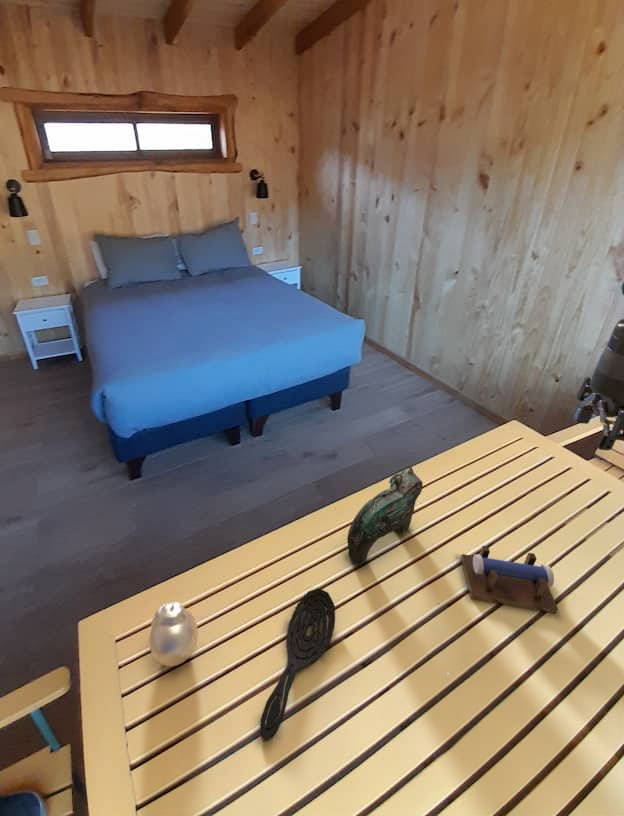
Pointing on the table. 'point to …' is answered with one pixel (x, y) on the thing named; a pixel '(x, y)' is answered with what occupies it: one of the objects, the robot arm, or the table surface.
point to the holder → (508, 586)
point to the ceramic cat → (384, 514)
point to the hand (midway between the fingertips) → (591, 435)
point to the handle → (513, 569)
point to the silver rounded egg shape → (173, 634)
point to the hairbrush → (300, 651)
